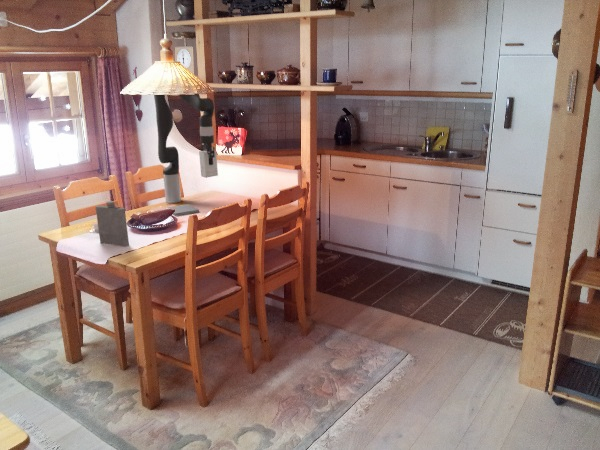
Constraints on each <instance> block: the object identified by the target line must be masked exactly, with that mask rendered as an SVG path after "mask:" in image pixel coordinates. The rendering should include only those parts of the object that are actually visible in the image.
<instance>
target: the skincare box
mask: <svg viewBox="0 0 600 450" xmlns="http://www.w3.org/2000/svg"><path fill="white" fill-rule="evenodd" d="M214 151H215V157H213V165H209V157H208V154H207V152H206V151H202V150H201V151H200V150H199V152H198V153H199V166H200V176H201V177H202V178H206V179H207V178H211V177H217V176H219V173H218V158H217V150H215V149H214ZM208 153H210V152H208ZM209 155H210V154H209Z"/></svg>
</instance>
